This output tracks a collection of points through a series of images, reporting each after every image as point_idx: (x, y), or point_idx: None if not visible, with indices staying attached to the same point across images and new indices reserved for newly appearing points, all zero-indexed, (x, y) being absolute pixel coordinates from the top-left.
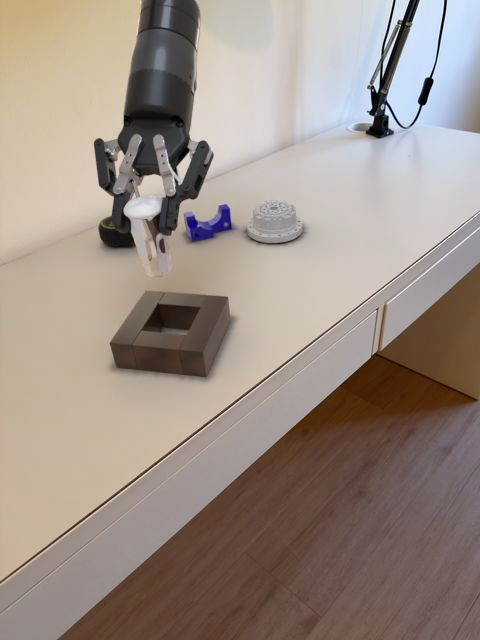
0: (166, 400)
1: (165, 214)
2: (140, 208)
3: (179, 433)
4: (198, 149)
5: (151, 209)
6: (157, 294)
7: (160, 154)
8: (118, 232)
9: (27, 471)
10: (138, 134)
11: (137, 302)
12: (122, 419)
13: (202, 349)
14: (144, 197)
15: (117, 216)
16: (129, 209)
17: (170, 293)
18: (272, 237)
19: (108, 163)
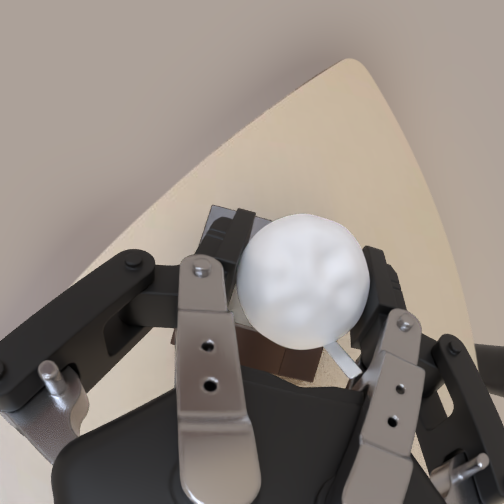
0: (265, 183)
1: (231, 226)
2: (310, 221)
3: (247, 137)
4: (20, 366)
5: (275, 227)
6: (291, 368)
7: (219, 397)
8: None
9: (381, 120)
10: None
11: (322, 346)
12: (311, 162)
13: (212, 209)
14: (307, 299)
15: (381, 262)
16: (347, 235)
17: (268, 368)
18: None
19: (459, 428)
